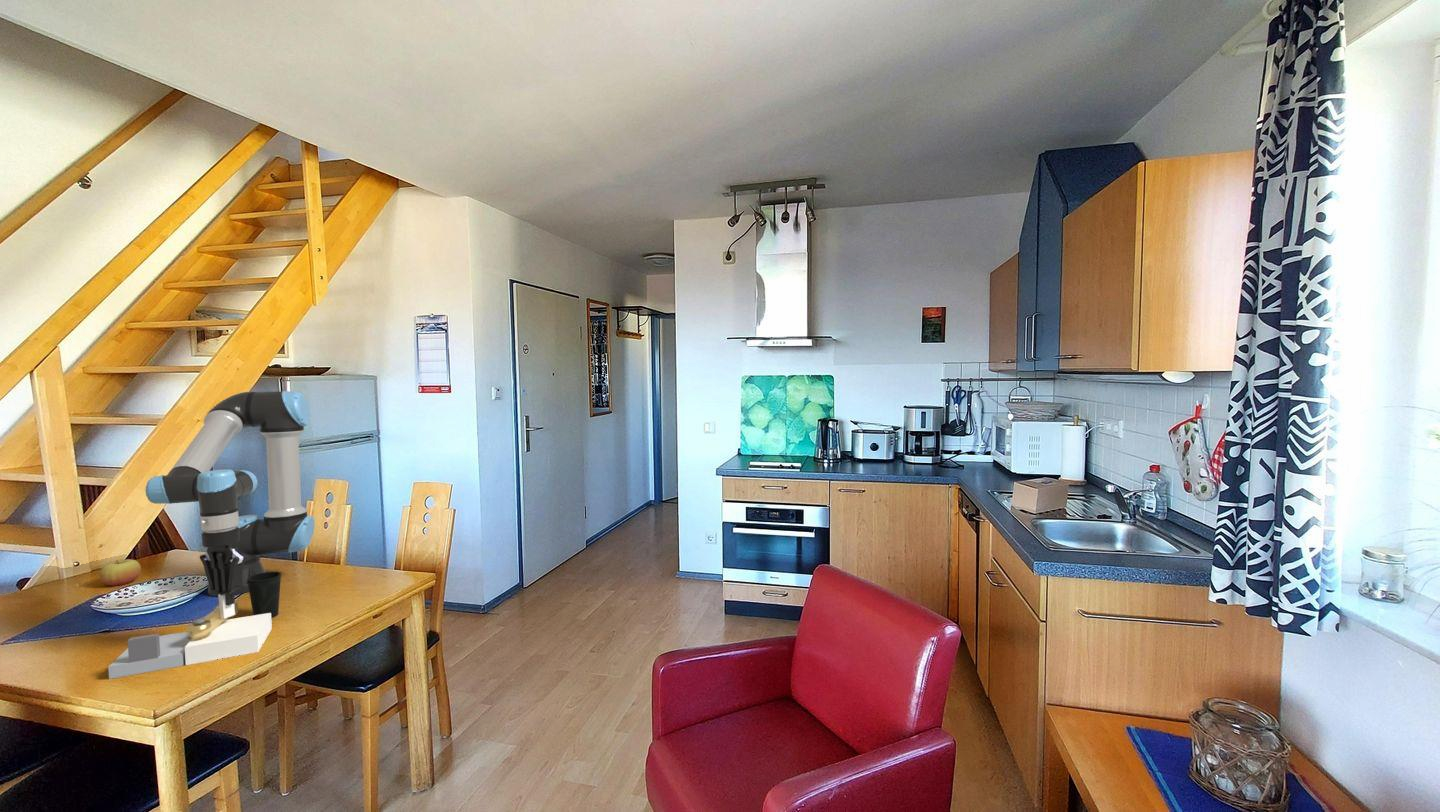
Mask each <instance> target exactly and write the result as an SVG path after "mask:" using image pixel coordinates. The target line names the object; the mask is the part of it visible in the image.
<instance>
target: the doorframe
mask: <svg viewBox="0 0 1440 812" xmlns="http://www.w3.org/2000/svg"><path fill="white" fill-rule="evenodd" d="M204 622H205V618H203V617H198V618H195V619H193V620H192V622H191V623H192V624H193V625H198V624H202V623H204ZM272 623H273V622H272V618H271V613H266V614H260V615H250V616H249V615H247V616H242V617H236V618H230V619H229V618H228V619H226V620H225V621H224V622H222V623H221V624H219V625H218V626H217V627H215V628H214V629H213V630H211V634H210V635H209V636H206V637H204V638H200V639H194V640H190V639H188V633H187V631H182V632H176V633H169V634H162V635H160V633H153V634H145V635H140V636H133V637H130V638H128V640H127V648H126V649H125V650H124V651H123V652H122V653H121V654H120V655H119V656H117V658H115V660H113V661H112V662H111V663H110V664H109V665H108V668H107V669H108V680H113V679H117V678H123V677H128V676H133V675H138V674H139V675H140V674H146V673H151V672H157V671H163V670H166V669H173V668H178V667H182V666H190V665H194V664H195V665H196V664H200V663H206V662H211V661H217V659H218V660H221V659H222V658H223V659H227V658H228V657H229V658H234V657H239V655H240V656H245V655H249V654H250V653H251V654H255V653H259V651H260V650H261V648H262V647H263V645H264V643H265V641H266V639H267V638H268V636H269V634H270V633H271V631H272V629H273V625H272ZM262 644H263V645H262ZM251 654H250V655H251ZM233 656H234V657H233Z"/></svg>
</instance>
